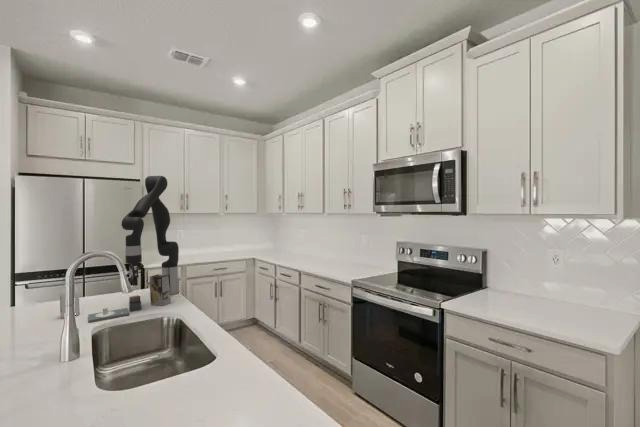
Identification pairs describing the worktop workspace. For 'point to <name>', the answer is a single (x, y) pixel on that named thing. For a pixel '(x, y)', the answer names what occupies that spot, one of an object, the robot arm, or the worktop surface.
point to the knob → (134, 303)
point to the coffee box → (160, 290)
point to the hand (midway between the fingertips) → (134, 284)
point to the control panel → (107, 315)
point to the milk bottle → (62, 301)
